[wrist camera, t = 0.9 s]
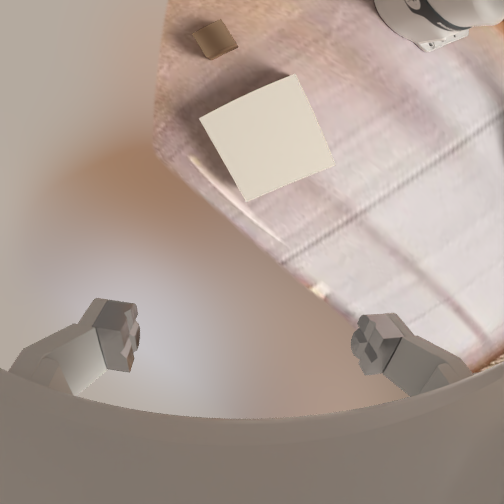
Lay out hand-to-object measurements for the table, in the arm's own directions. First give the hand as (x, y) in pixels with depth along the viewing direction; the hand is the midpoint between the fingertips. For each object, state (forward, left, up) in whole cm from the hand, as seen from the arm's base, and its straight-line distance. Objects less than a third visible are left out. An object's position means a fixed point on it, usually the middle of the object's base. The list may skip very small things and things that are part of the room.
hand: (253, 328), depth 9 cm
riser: (-1, +1, -42) cm, 42 cm away
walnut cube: (-1, -18, -42) cm, 46 cm away
